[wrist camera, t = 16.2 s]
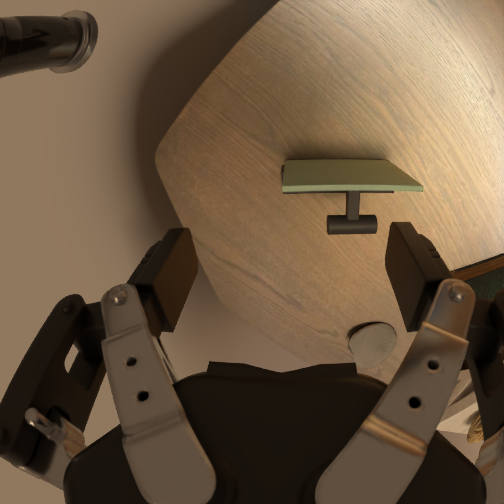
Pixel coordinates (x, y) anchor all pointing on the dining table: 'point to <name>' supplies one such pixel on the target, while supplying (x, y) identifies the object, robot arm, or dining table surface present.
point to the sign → (347, 186)
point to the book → (483, 277)
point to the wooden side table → (463, 410)
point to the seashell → (372, 345)
